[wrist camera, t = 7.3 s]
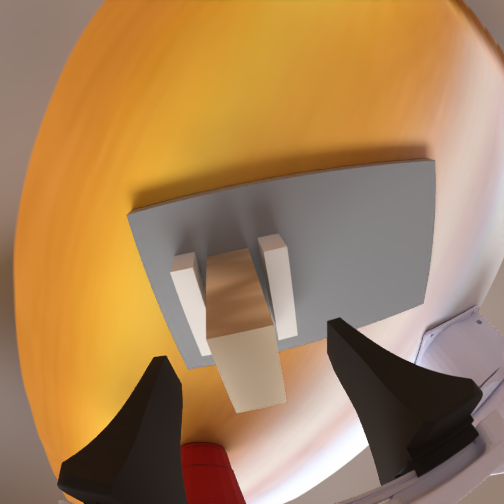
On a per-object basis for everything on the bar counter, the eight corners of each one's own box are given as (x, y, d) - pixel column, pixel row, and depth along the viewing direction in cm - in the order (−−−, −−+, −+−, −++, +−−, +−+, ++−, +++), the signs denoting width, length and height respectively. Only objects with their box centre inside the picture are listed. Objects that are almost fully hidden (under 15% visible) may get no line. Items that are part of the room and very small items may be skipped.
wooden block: (248, 247, 16) (273, 325, 9) (261, 317, 18) (286, 402, 11) (206, 257, 15) (206, 339, 9) (226, 324, 18) (236, 413, 11)
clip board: (426, 158, 16) (454, 165, 13) (417, 297, 21) (436, 316, 18) (131, 210, 15) (115, 226, 12) (188, 360, 20) (187, 389, 17)
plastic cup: (224, 469, 30) (234, 538, 19) (150, 456, 26) (149, 532, 15) (264, 439, 27) (285, 525, 16) (176, 424, 23) (179, 527, 12)
